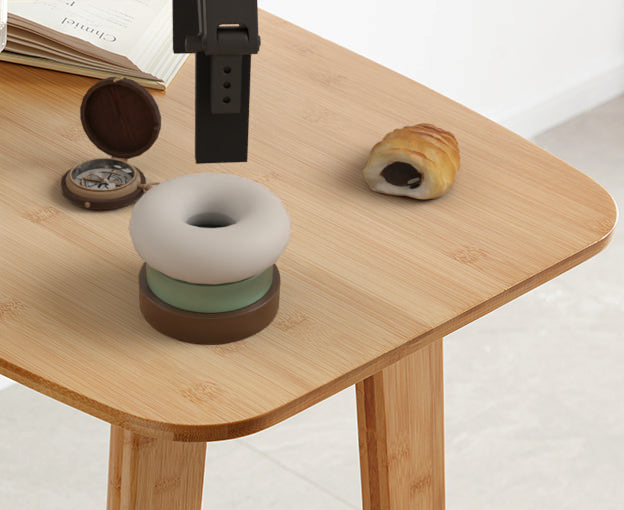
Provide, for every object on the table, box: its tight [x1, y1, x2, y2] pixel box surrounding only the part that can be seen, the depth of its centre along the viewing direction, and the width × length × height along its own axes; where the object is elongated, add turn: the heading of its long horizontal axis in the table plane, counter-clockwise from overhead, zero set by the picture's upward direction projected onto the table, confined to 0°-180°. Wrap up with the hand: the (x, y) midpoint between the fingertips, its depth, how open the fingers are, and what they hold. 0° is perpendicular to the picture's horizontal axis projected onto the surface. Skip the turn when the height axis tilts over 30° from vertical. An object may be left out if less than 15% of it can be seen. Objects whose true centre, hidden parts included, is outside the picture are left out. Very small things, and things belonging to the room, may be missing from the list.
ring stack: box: [138, 225, 281, 345], centre depth 72 cm, size 9×9×4 cm
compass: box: [60, 75, 162, 211], centre depth 82 cm, size 8×8×7 cm
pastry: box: [362, 122, 461, 200], centre depth 87 cm, size 9×7×4 cm
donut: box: [128, 172, 292, 284], centre depth 70 cm, size 10×4×10 cm
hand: (206, 101), depth 65 cm, fingers open, 13 cm apart
